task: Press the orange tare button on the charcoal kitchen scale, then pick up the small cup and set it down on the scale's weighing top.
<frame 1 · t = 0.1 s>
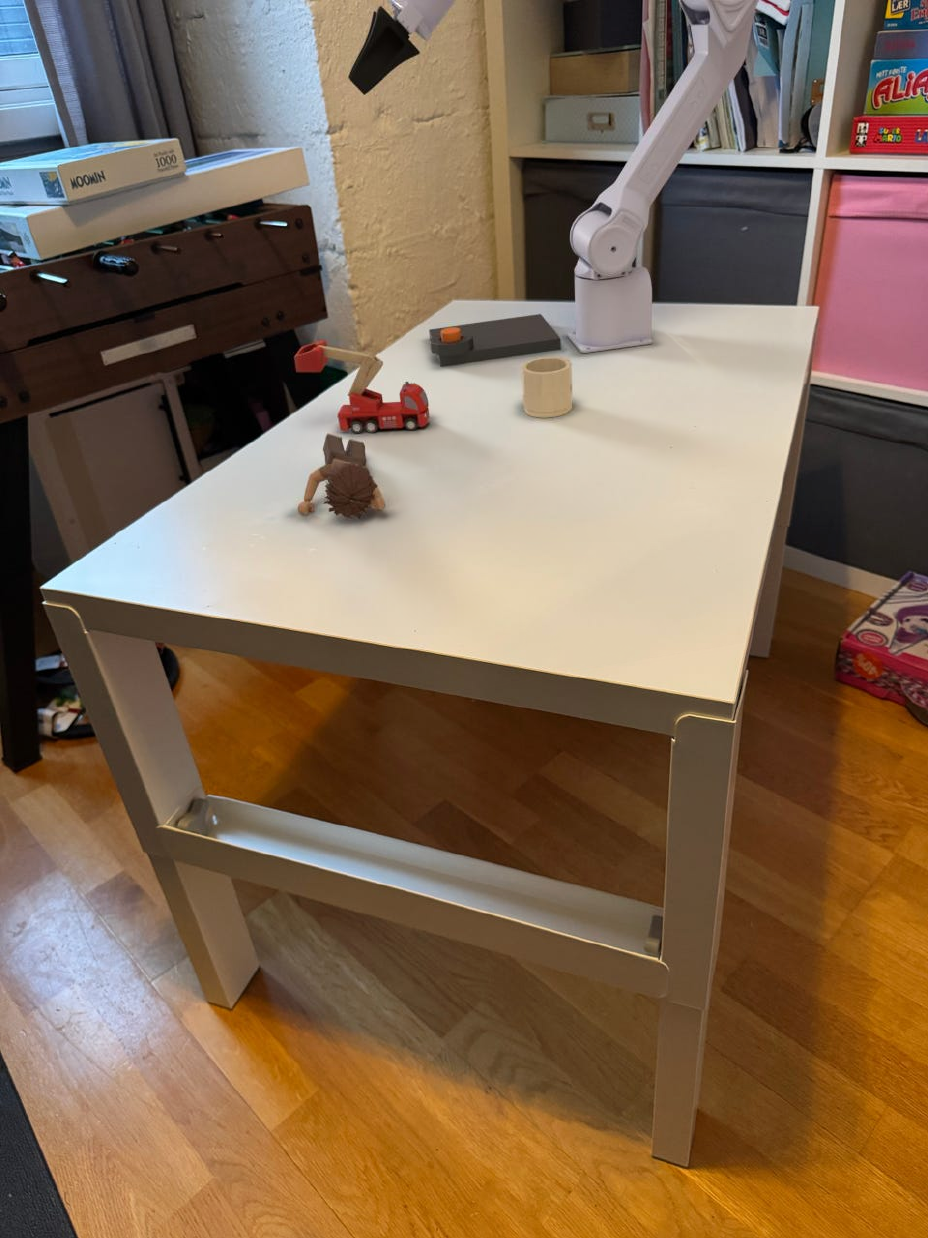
hand: (355, 85, 97), 32 cm above the table, tool tilted 50°, fingers open, 7 cm apart
scale: (493, 345, 120), on the table
small cup: (548, 408, 99), on the table
tare button: (450, 335, 114), point 3 cm above the table, slide at 0.2 cm
figurine: (339, 496, 86), on the table
toy fire truck: (371, 429, 100), on the table
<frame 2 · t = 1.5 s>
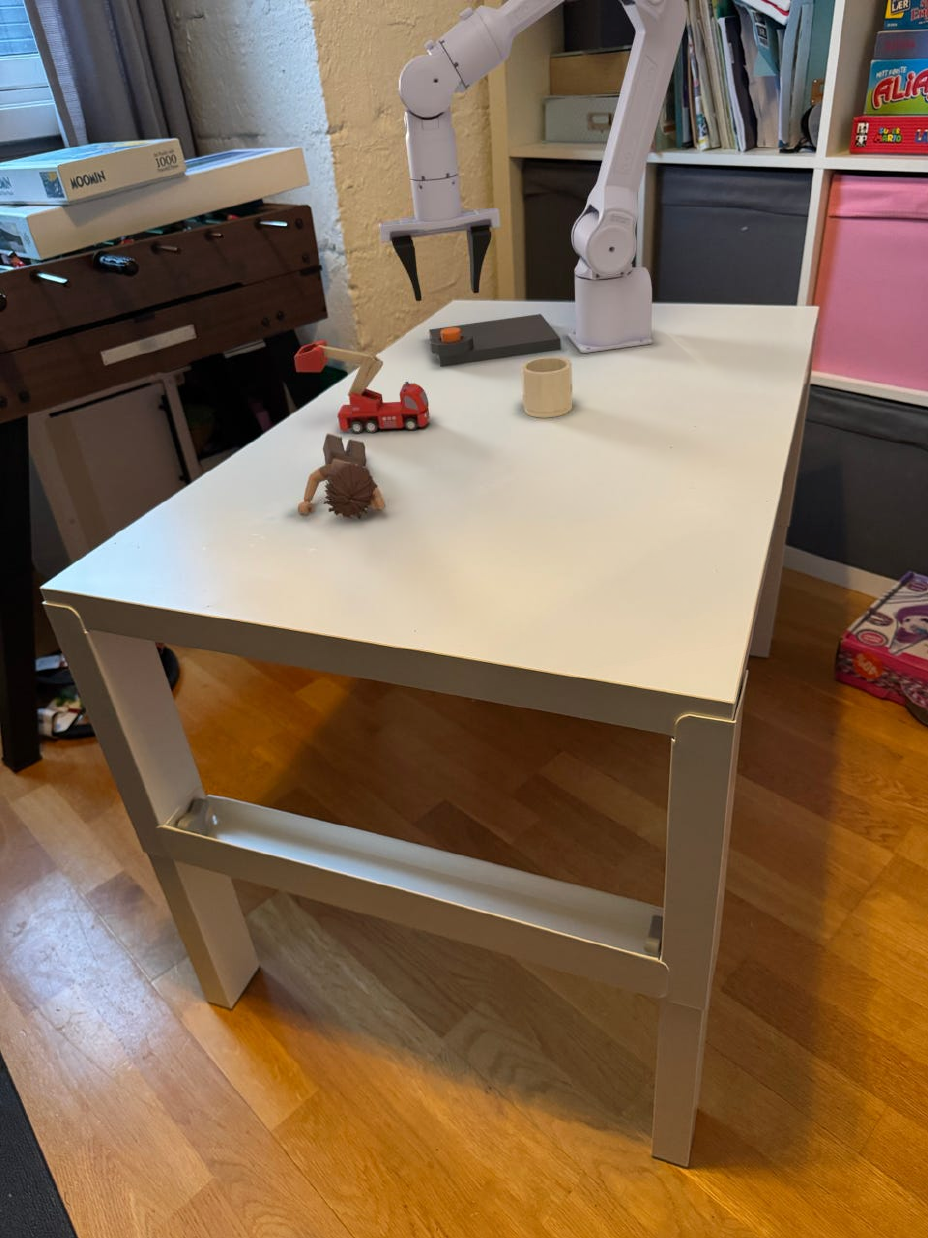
hand: (446, 295, 111), 8 cm above the table, tool pointing down, fingers open, 7 cm apart
nothing on the table moved.
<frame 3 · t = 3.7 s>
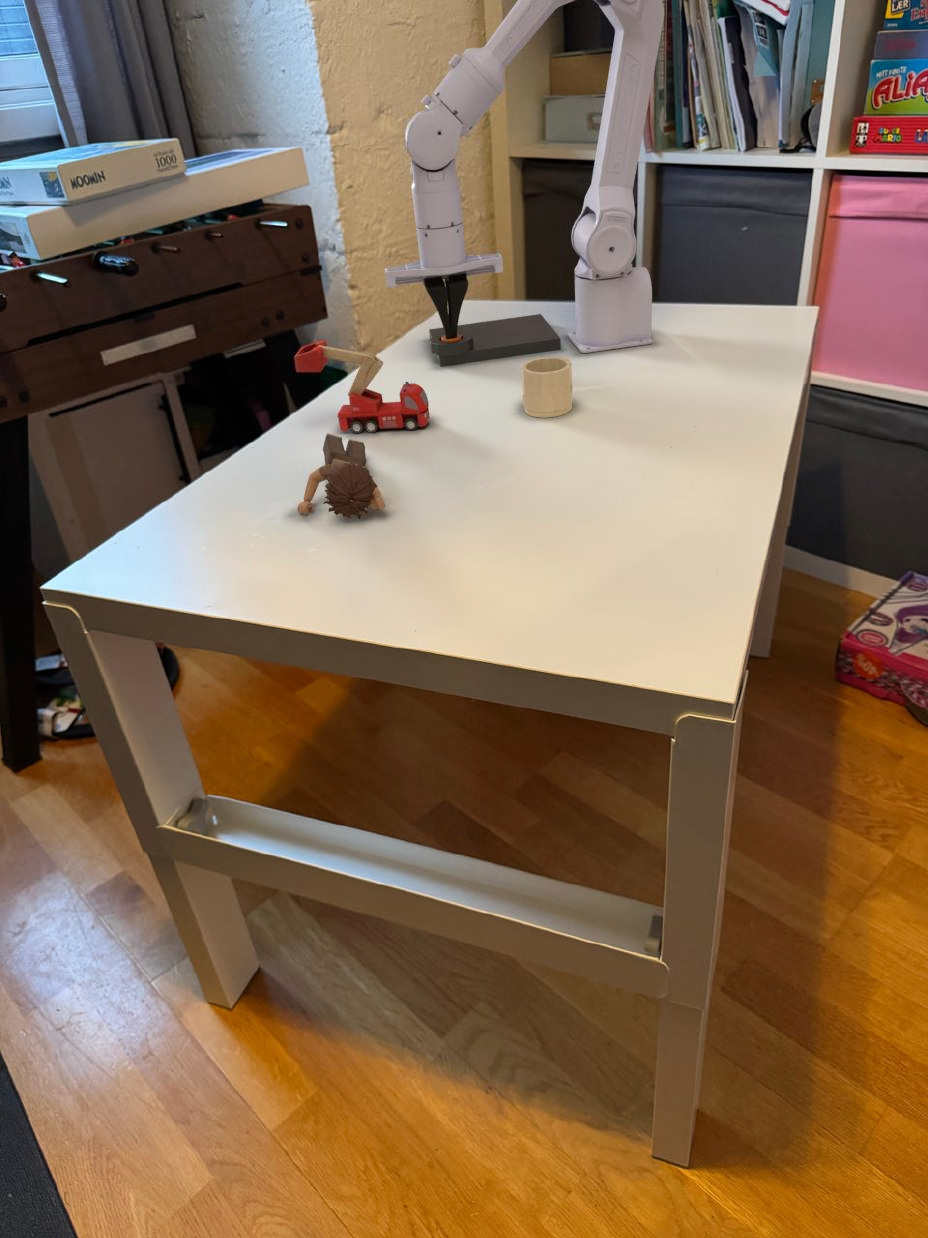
hand: (450, 336, 114), 3 cm above the table, tool pointing down, fingers closed, pressing on tare button
tare button: (451, 341, 115), point 3 cm above the table, slide at -0.7 cm, touching gripper
everything else where it was.
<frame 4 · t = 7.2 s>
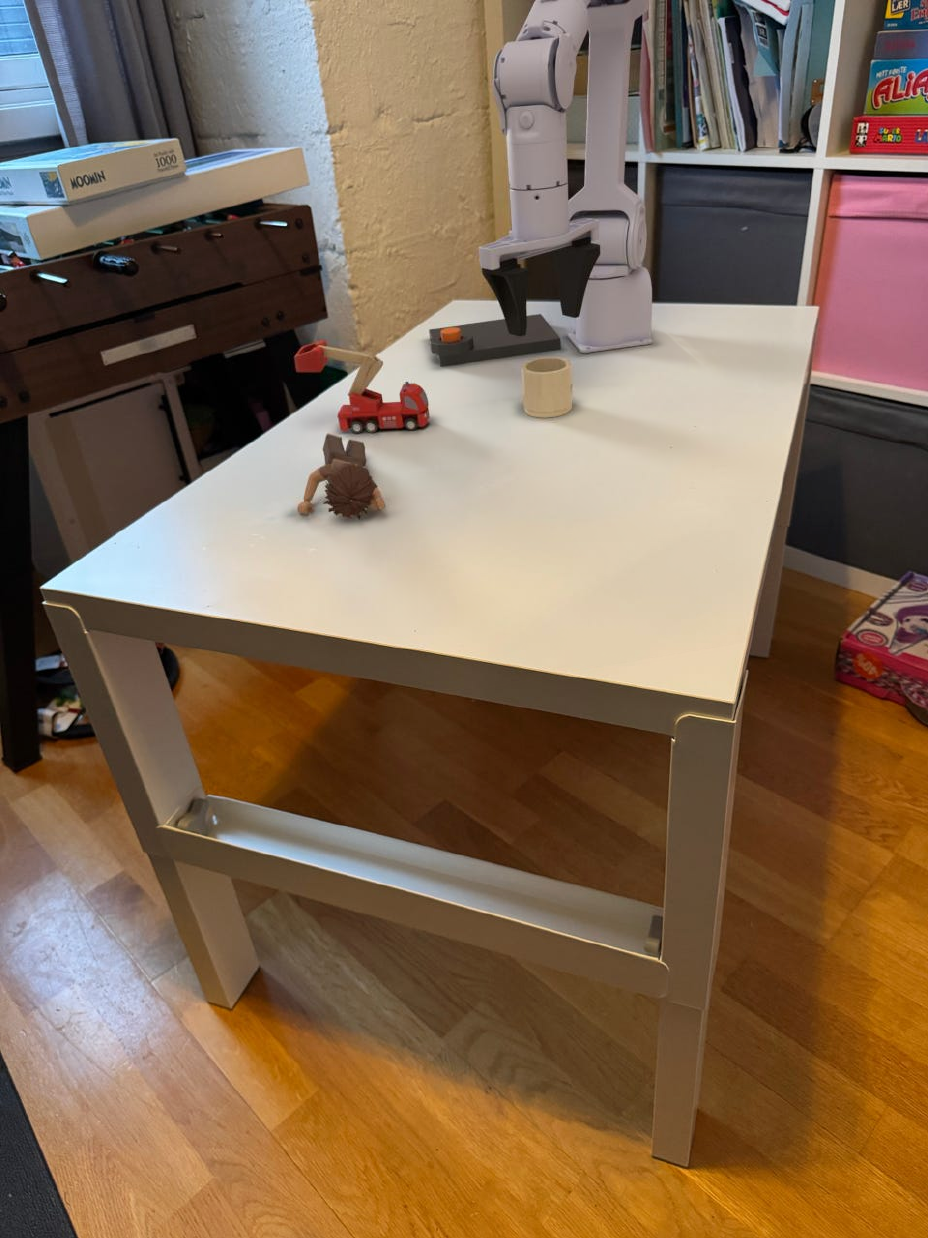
hand: (544, 324, 94), 9 cm above the table, tool pointing down, fingers open, 7 cm apart
tare button: (450, 335, 114), point 3 cm above the table, slide at 0.2 cm
everything else where it was.
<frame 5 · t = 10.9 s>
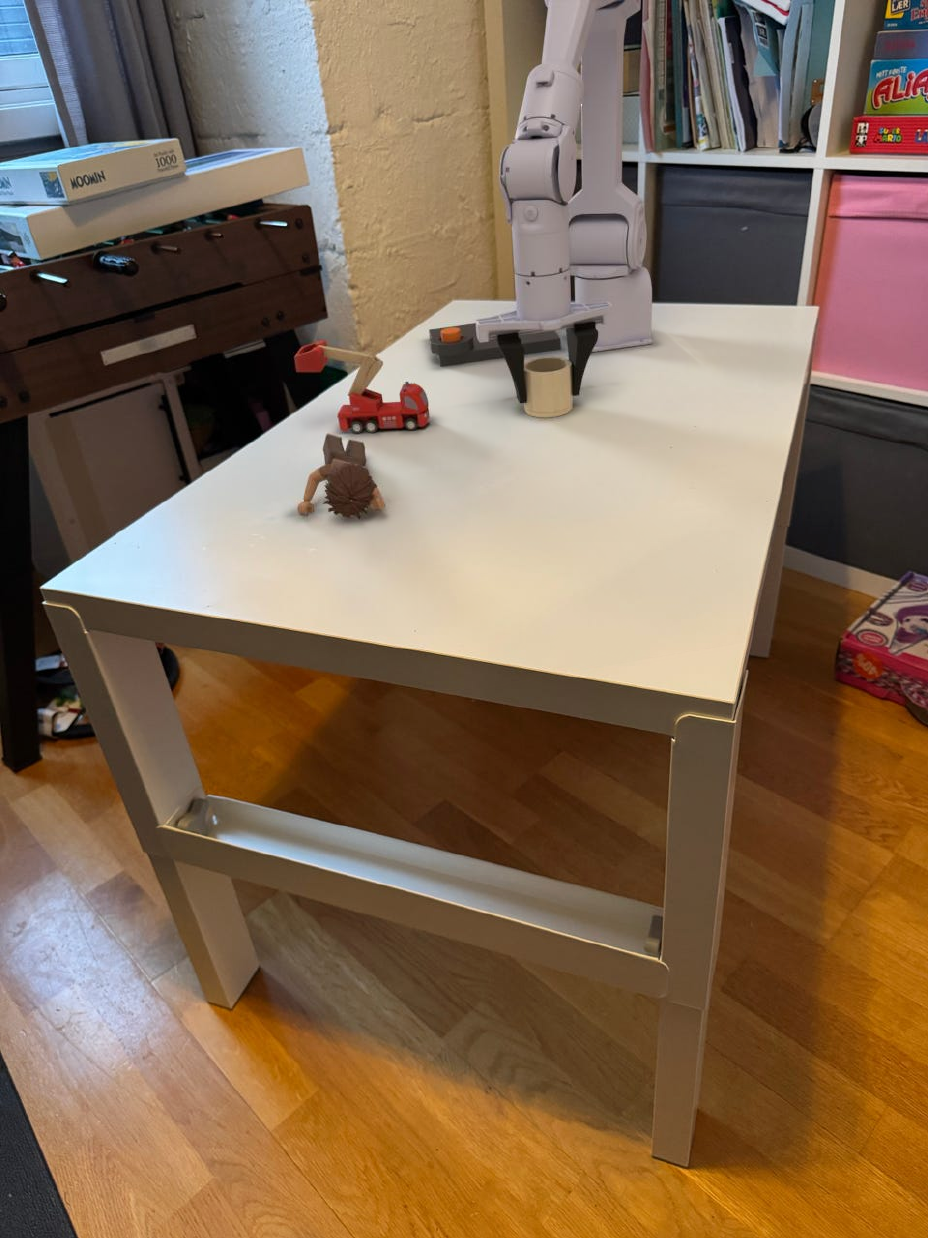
hand: (547, 396, 98), 1 cm above the table, tool pointing down, fingers closed on small cup, 5 cm apart
small cup: (548, 408, 99), on the table, touching gripper
everything else where it was.
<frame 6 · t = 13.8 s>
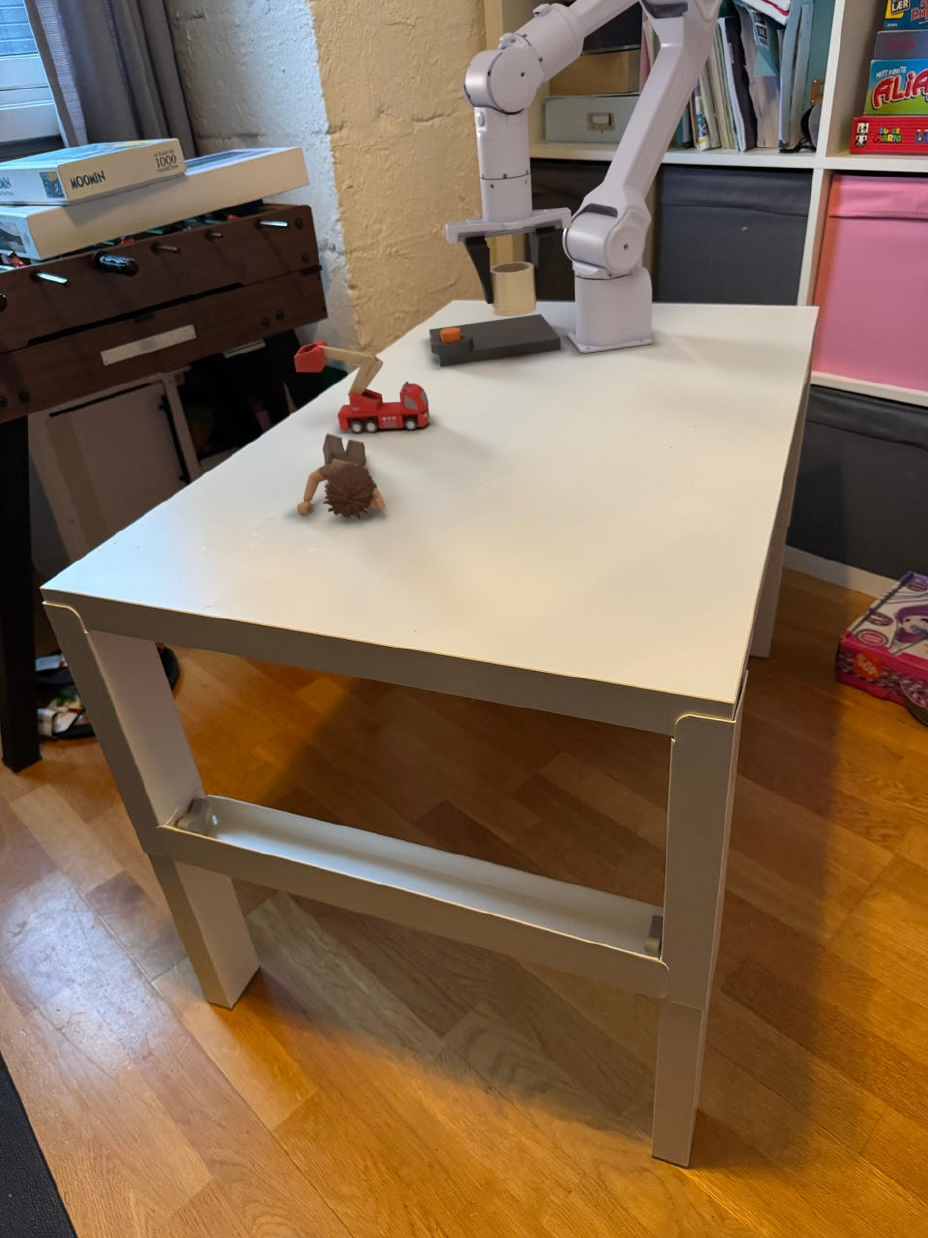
hand: (513, 298, 107), 8 cm above the table, tool pointing down, fingers closed on small cup, 5 cm apart
small cup: (514, 309, 108), point 7 cm above the table, touching gripper
everything else where it was.
when the fingers open (3 cm above the table, at t = 17.0 s): small cup stays where it is, resting on scale.
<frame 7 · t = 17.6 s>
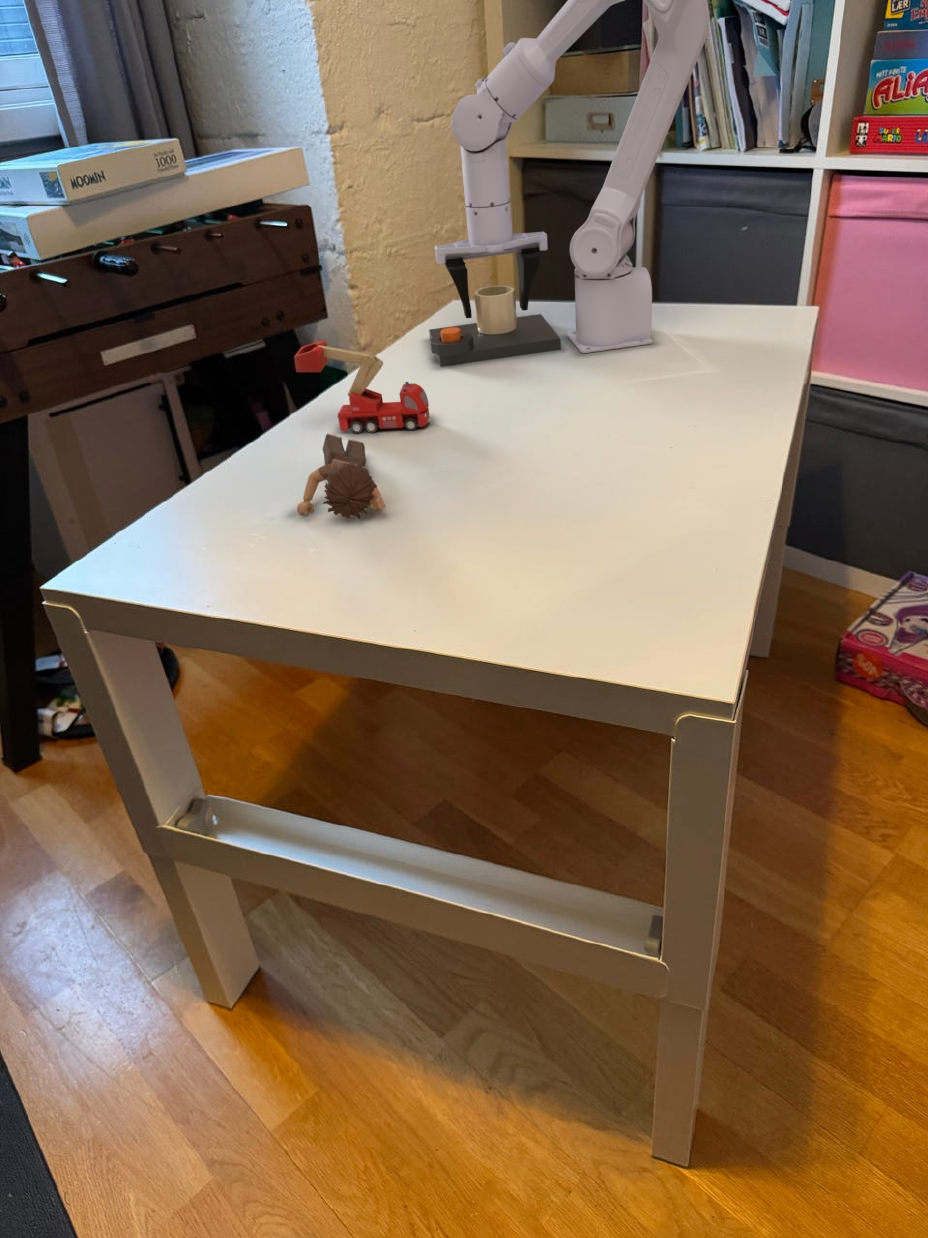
hand: (496, 312, 119), 4 cm above the table, tool pointing down, fingers open, 7 cm apart
small cup: (497, 328, 120), point 2 cm above the table, touching scale
everything else where it was.
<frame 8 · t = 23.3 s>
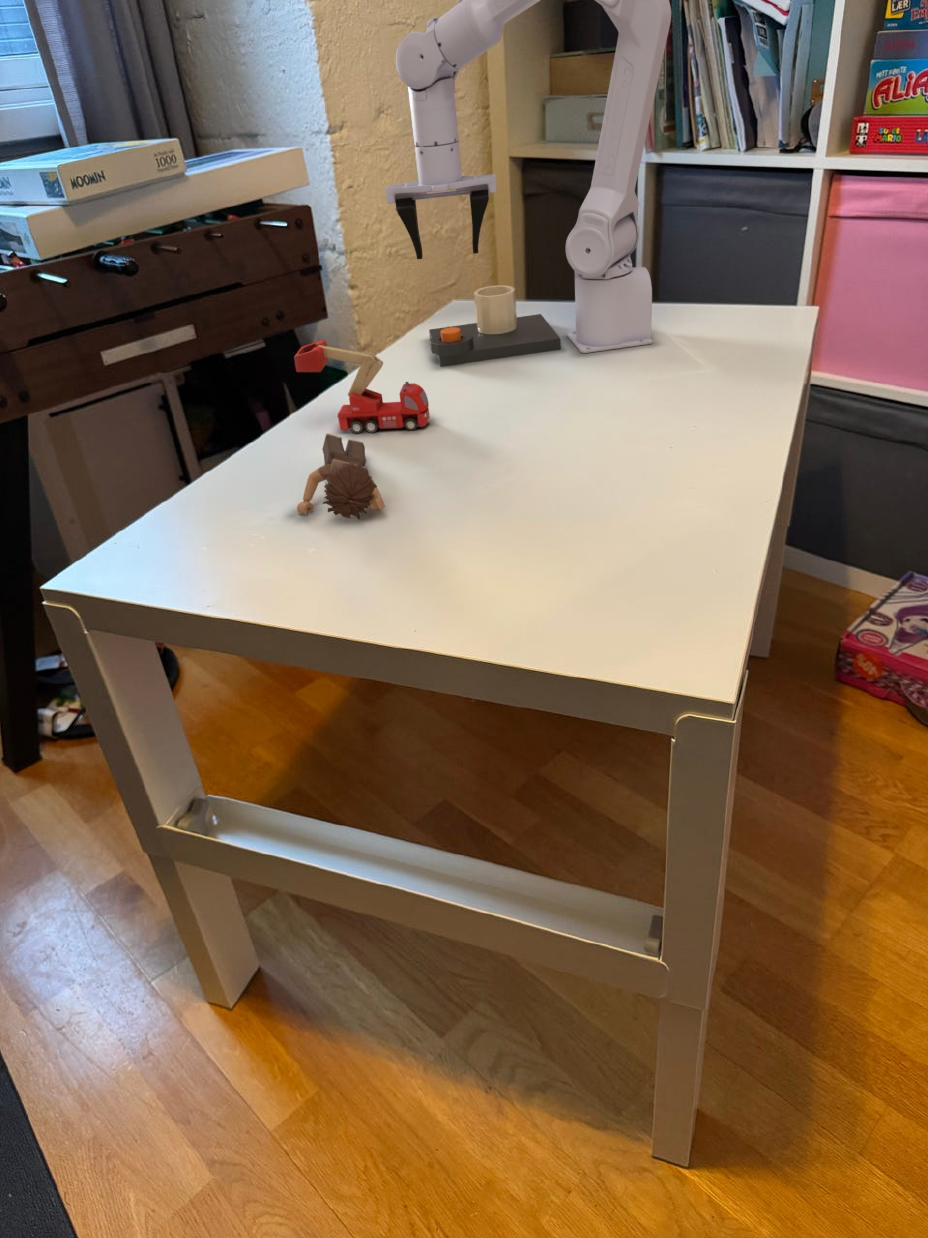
hand: (447, 254, 121), 10 cm above the table, tool pointing down, fingers open, 7 cm apart
nothing on the table moved.
at the end: tare button pushed in 0.8 cm at the most during the clip, back to 0.2 cm at the end; small cup 0.0 cm from the target spot on the scale, point 1.6 cm above the scale's base; small cup tilted 0° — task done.
